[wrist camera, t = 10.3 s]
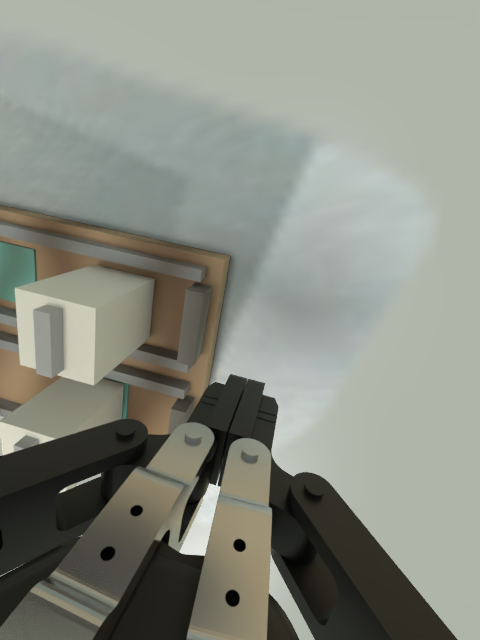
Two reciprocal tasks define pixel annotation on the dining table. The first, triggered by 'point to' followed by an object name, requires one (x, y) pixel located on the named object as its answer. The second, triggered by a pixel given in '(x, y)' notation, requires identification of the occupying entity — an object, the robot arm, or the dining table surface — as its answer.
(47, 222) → the switch board
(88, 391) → the tab far
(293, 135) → the dining table surface
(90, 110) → the dining table surface
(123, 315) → the tab near
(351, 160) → the dining table surface
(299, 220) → the dining table surface
